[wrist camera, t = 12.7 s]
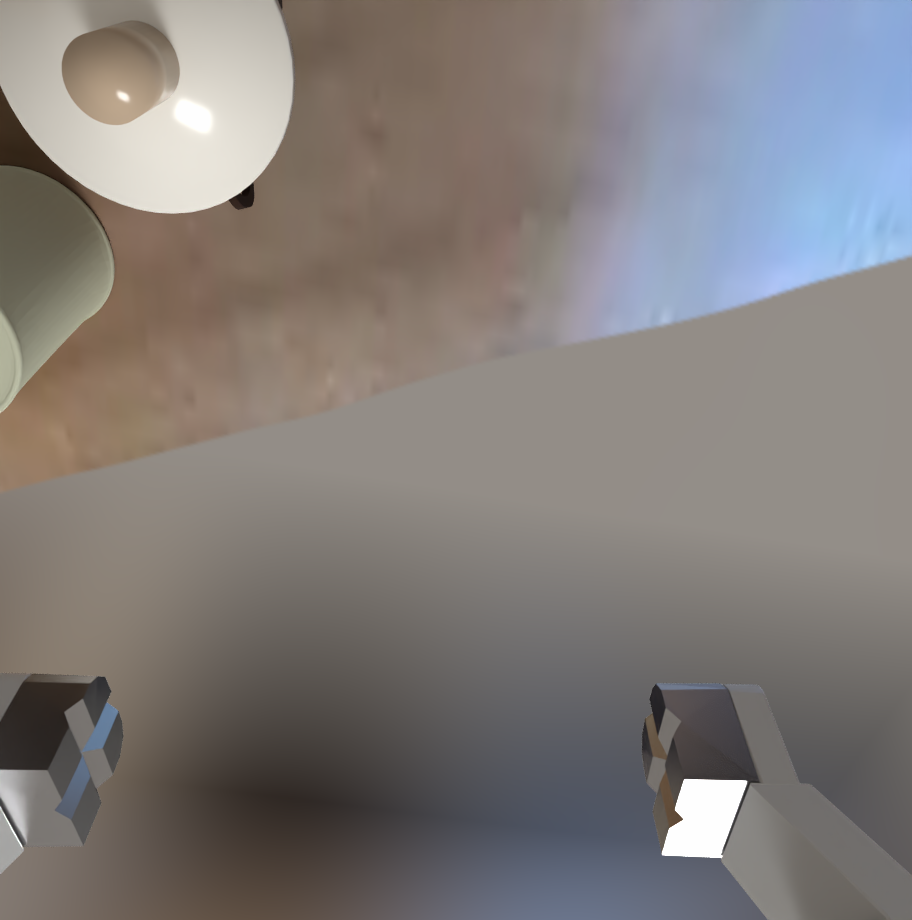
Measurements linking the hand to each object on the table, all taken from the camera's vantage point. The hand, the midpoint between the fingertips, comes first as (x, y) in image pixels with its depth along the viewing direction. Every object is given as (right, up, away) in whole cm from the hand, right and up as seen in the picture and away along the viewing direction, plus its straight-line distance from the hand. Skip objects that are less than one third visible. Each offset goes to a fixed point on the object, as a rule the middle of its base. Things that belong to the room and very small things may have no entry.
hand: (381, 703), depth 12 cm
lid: (-10, +19, +18) cm, 28 cm away
